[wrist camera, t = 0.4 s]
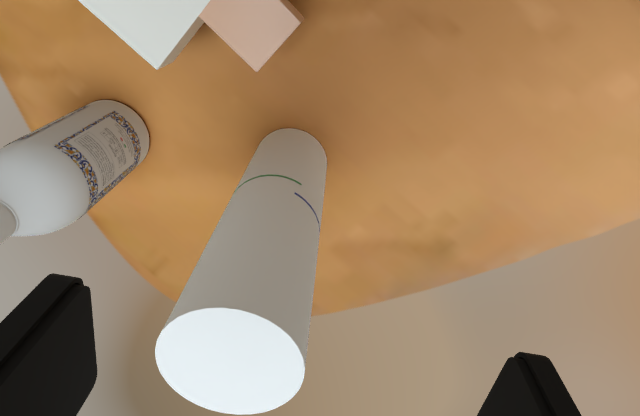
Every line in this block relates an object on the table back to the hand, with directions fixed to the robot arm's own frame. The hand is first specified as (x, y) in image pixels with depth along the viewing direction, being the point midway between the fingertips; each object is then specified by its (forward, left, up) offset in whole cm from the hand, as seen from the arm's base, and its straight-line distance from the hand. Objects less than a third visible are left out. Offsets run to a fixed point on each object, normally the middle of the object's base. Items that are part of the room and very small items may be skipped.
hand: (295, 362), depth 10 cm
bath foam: (+19, -11, -33) cm, 39 cm away
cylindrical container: (+9, +3, -33) cm, 34 cm away
